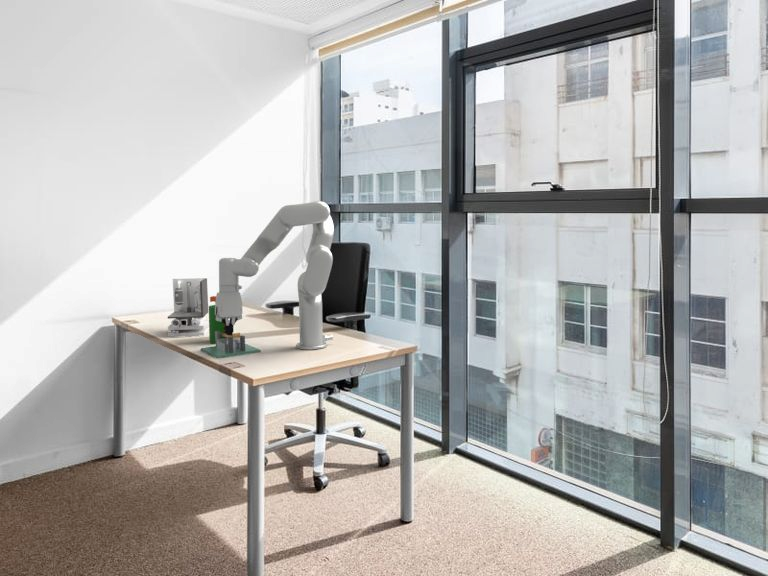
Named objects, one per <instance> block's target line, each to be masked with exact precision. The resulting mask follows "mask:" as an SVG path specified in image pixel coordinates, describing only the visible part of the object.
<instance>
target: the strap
mask: <svg viewBox="0 0 768 576" xmlns="http://www.w3.org/2000/svg"><path fill="white" fill-rule="evenodd" d="M220 336H224V337H232V338H233V339H234V338H241V337H240V336H241V332H235V333H234V332H233V334H232V335H226V333H220Z"/></svg>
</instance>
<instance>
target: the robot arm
mask: <svg viewBox="0 0 768 576" xmlns="http://www.w3.org/2000/svg"><path fill="white" fill-rule="evenodd" d="M330 209H331V208H330V207H329V205H328V204H327V203H326V202H324V201H322V200H321V201H320V200H317V201H311V202H306V203H299V204H298V203H297V204H287V205H286V204H285V205H284V206H282V207H281V208H280V209H279V210H278V211H277V213H276V214H275V215H274V216H273V218H272V219H271V220H270V222H268V224H267V226H265V228H264V229H263V230H262V231H261V232H260V234H259V235H258V236H257V238H256V239H255V241H254V242H253V243H252V244H251V245H250V246H249V248H248V249H247V251H246V252H245V253H244V254H243V255H242V256H241V258H238V259H237V258H235V257H222V258H220V259H219V260H218V292H216V301H215V302H214V303H215V304H214V305H215V316H216V321H220V322H222V323H223V324H224V325H225V333H226V335H232V334H233V333H234V325H235V324H236V322H237V321H240V320H243V301H242V295H241V292H240V290H241V289H242V288H243V287H242V285H240V284H239V282H240V281H239V277H244V278H246V277H247V278H251V277H255V276H256V275H257V274H258V272H259V268H260V265H261V264H262V263H263V261H264V260H265V259H266V257H267V256H268V255H269V254H271V252H273V251H275V250H276V249H277V248H278V247H279V246H281V244H282V242H283V241H284V240H285V238H286V237H287V235H288V234H289V233H290V232H291V231H292V230H293V228H294V227H300V226H307V225H312V234H311V238H310V242H309V246H308V250H307V252H306V255H305V260H306V264H307V265H306V269H305V271H304V272H302V273H301V274H299V277H298V279H297V291H298V292H297V293H298V317H299V318H298V319H299V323H298V325H299V342H297V343H296V344H295V347H296V348H297V349H300V350H309V351H310V350H311V351H312V350H320V349H324V348H326V347H327V346H328V345H327V341H333V340H334V337H333V335H331V334H330V335H325V334H324V333H323V298H322V297H323V296H322V294H323V293H324V291H325V290H326V288H327V284H328V281H329V277H330V275H331V274H330V273H331V271H332V266H333V260H334V257H333V254H332V252H331V248H332V247H331V246H332V244H333V238H334V235H335V234H334V233H335V227H334V222H333V219H332V216H331V210H330ZM222 318H223V319H222ZM228 318H229V319H228Z"/></svg>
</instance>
